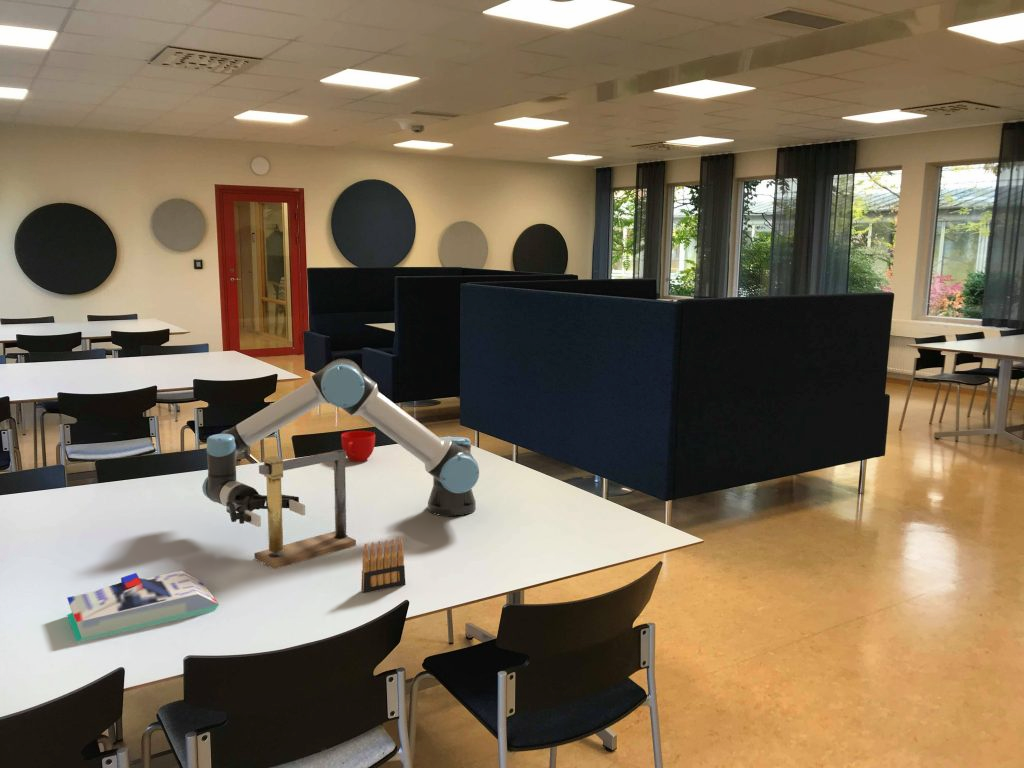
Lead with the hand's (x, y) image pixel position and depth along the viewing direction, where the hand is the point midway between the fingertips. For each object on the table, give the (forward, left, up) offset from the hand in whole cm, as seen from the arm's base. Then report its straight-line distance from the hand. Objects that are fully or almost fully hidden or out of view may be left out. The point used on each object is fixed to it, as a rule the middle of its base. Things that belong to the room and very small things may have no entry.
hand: (282, 515), depth 210 cm
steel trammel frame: (-5, -9, -12) cm, 15 cm away
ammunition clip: (-27, +16, -13) cm, 34 cm away
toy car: (+26, +27, -14) cm, 40 cm away
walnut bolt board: (-5, -9, -13) cm, 16 cm away
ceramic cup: (-10, -105, -13) cm, 106 cm away
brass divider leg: (+2, -3, -11) cm, 11 cm away
